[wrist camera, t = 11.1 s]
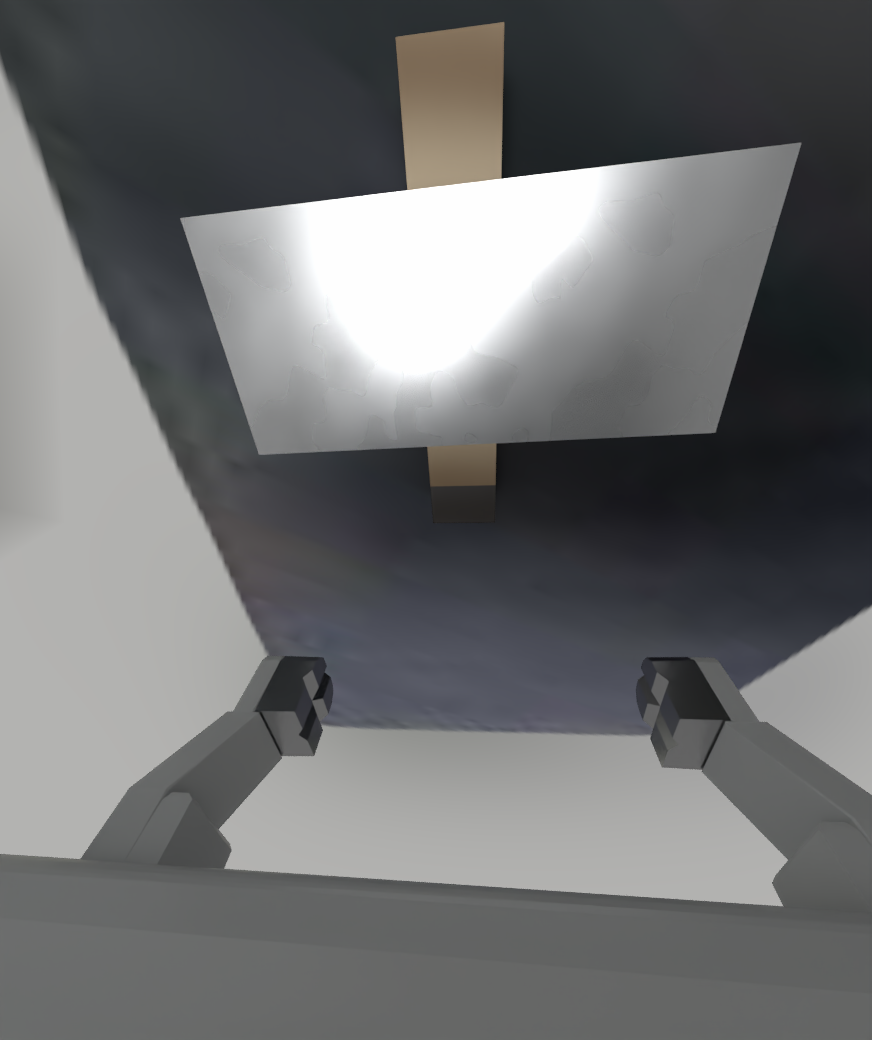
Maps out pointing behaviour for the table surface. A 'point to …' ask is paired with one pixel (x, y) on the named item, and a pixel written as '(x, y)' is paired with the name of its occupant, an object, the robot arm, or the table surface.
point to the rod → (450, 161)
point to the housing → (495, 304)
